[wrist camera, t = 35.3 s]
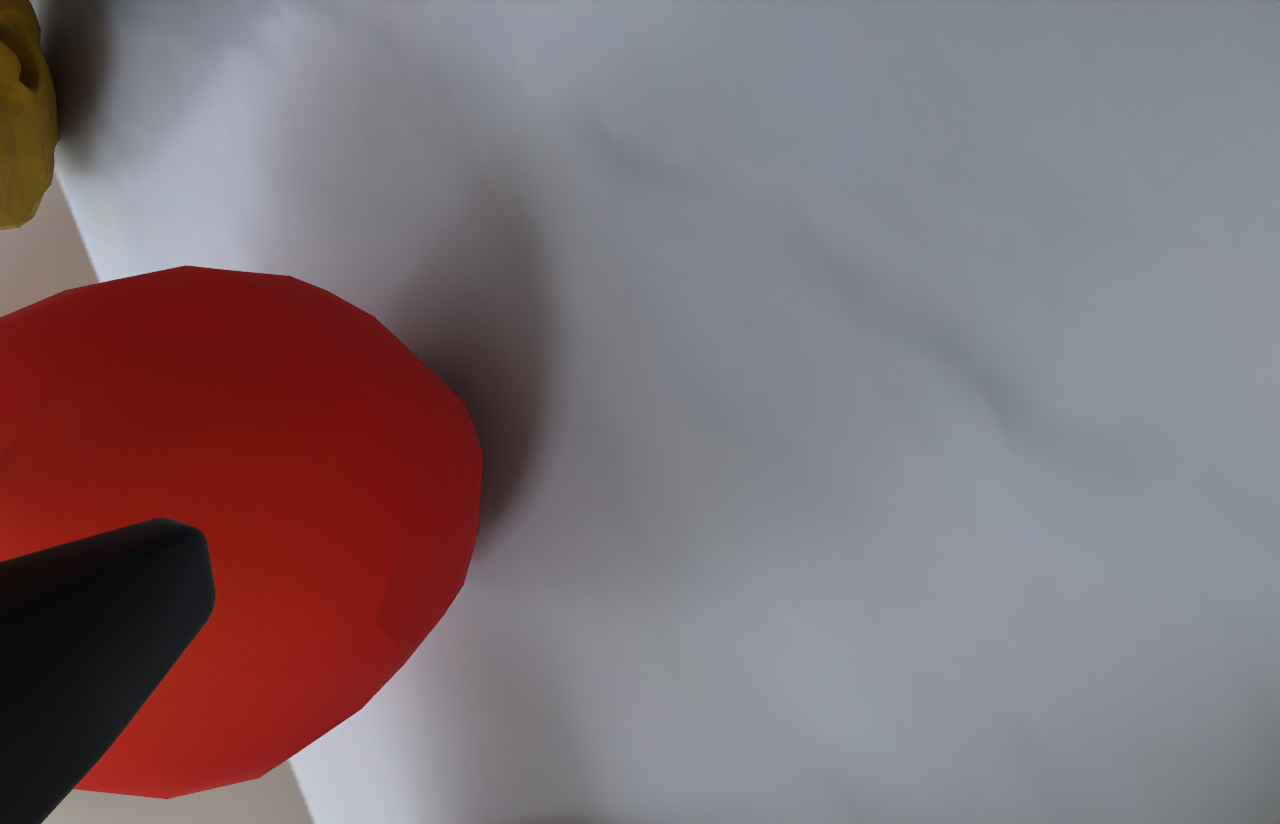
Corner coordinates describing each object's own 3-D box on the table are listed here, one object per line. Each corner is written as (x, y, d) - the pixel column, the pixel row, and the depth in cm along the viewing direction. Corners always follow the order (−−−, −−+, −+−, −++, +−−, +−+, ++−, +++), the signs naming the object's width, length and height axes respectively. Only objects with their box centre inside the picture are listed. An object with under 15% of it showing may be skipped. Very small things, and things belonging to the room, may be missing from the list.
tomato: (255, 337, 32) (-292, 385, 22) (511, 186, 25) (-139, 151, 14) (353, 688, 32) (-162, 908, 21) (646, 644, 24) (69, 951, 14)
